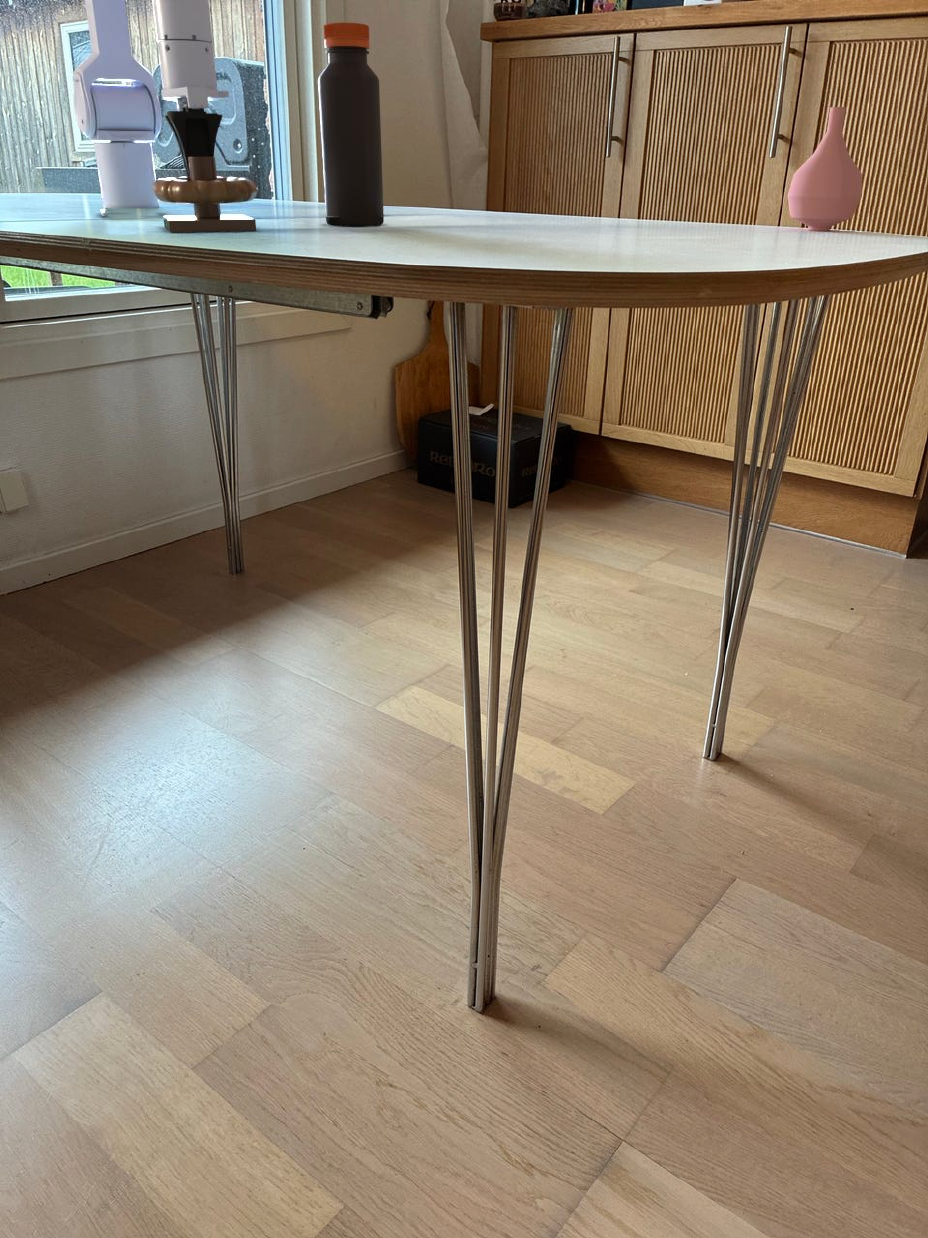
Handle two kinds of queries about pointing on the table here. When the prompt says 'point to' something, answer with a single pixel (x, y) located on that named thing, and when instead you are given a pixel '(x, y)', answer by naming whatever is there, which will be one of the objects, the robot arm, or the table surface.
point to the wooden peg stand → (207, 207)
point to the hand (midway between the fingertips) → (200, 184)
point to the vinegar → (350, 129)
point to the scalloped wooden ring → (204, 190)
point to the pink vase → (826, 181)
